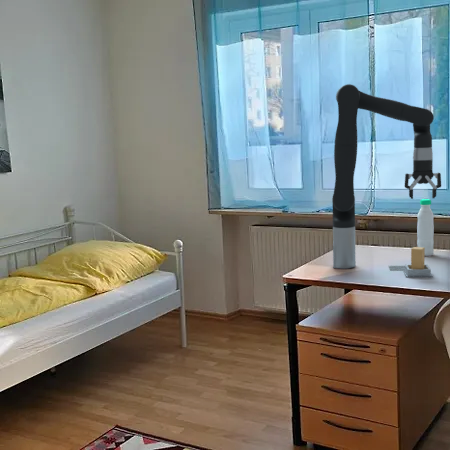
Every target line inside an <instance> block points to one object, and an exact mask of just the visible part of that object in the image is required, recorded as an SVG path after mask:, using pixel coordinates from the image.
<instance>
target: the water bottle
mask: <svg viewBox="0 0 450 450" xmlns="http://www.w3.org/2000/svg"><path fill="white" fill-rule="evenodd" d="M419 204H420V209H419V211H418V213H417V225H416V226H417V227H416V229H417V232H416V233H417V234H416V235H417V241H416V243H417V244H416V245H417V247H424V248H425V257H431V256H433V255H435V253H434V245H435V244H434V243H435V242H434V232H435V231H434V230H435V229H434V227H435V226H434V224H435V223H434V218H435V215H434V213H433V211H432V210H433V209H431V205H432V200H431V199H428V198H424V199H423V198H422V199H420V201H419Z"/></svg>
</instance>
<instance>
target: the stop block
mask: <svg viewBox="0 0 450 450" xmlns="http://www.w3.org/2000/svg"><path fill="white" fill-rule="evenodd" d="M410 250H411V252H410V253H411V254H410V256H411V257H410V261H411V263H410V265H411V269H424V265H425V257H426V256H425V248H424V247H418V246H413V247H412V248H411V249H410Z"/></svg>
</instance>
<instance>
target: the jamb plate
mask: <svg viewBox="0 0 450 450" xmlns="http://www.w3.org/2000/svg"><path fill="white" fill-rule="evenodd" d="M388 269H389V272H390V271H391V272H392V271H393V272H396V271H400V272H403V270H405V265H388Z"/></svg>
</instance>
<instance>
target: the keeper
mask: <svg viewBox="0 0 450 450" xmlns="http://www.w3.org/2000/svg"><path fill="white" fill-rule="evenodd" d="M404 266H405V270H403V271H402V272H403V275H404V277H405V278H434V275H433V274H432V271H431V270H432V269H431V268H430V265H428V264H424V269H411V264H405V265H404Z"/></svg>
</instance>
